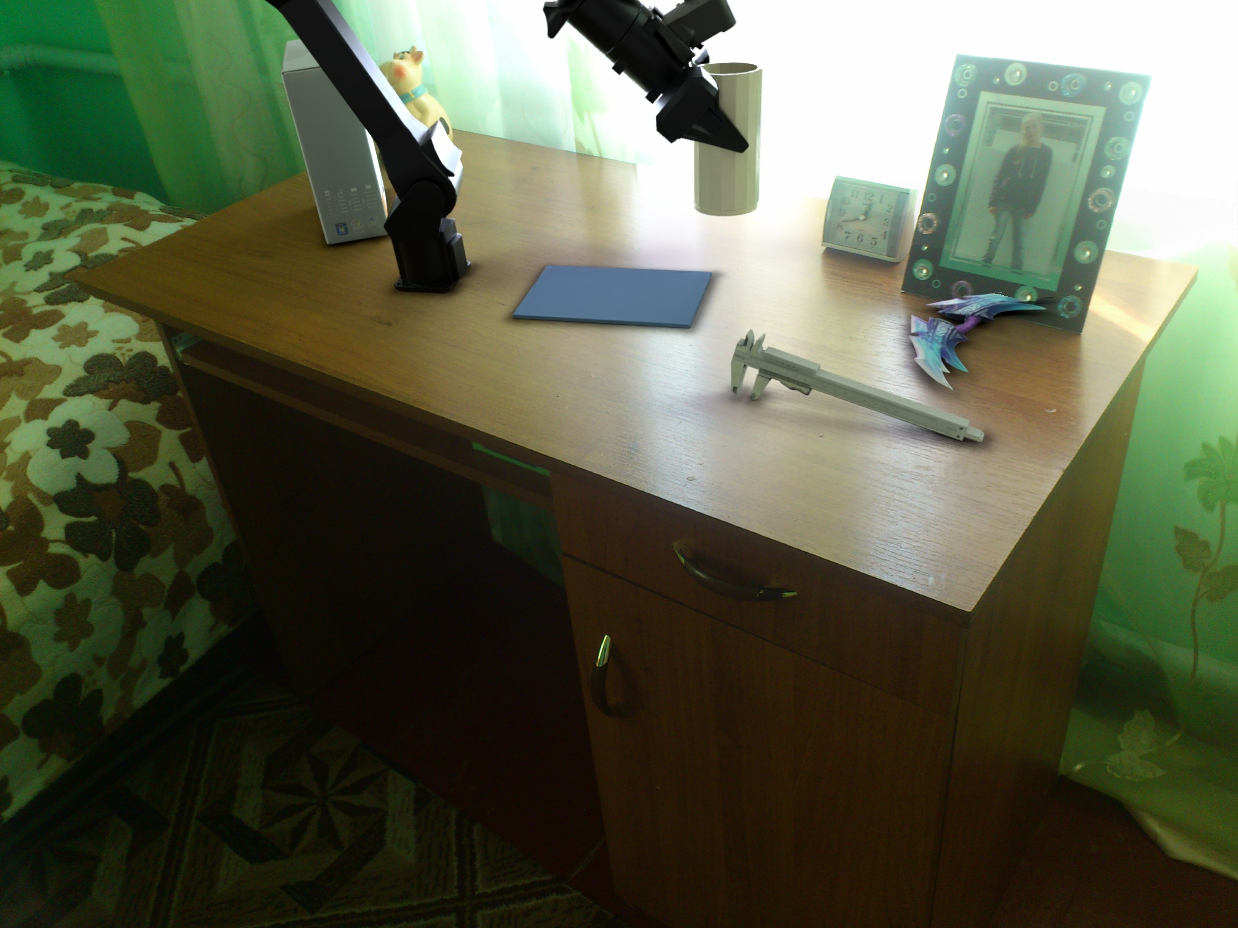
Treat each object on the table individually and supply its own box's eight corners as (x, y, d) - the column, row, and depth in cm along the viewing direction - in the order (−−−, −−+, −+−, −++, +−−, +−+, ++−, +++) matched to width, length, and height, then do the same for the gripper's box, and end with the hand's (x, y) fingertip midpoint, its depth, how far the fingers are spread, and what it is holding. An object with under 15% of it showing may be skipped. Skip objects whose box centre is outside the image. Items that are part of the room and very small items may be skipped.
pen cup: (710, 220, 97) (710, 77, 90) (684, 202, 103) (682, 66, 96) (769, 210, 99) (774, 69, 92) (740, 193, 105) (743, 58, 97)
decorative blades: (981, 266, 95) (1079, 297, 89) (980, 274, 96) (1077, 305, 89) (854, 344, 86) (953, 385, 79) (853, 352, 86) (952, 393, 80)
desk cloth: (512, 318, 97) (512, 314, 97) (548, 268, 106) (547, 265, 105) (689, 328, 93) (689, 324, 92) (712, 275, 101) (712, 271, 101)
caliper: (731, 396, 83) (729, 332, 79) (735, 389, 84) (734, 325, 80) (981, 445, 74) (992, 376, 71) (984, 437, 75) (995, 368, 71)
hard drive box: (392, 236, 116) (350, 62, 104) (327, 248, 115) (277, 73, 103) (386, 190, 128) (347, 29, 116) (327, 200, 127) (282, 39, 115)
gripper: (688, -22, 80) (818, 103, 86) (675, -62, 95) (786, 47, 101) (601, 85, 85) (730, 196, 91) (601, 31, 100) (712, 130, 106)
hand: (741, 137), depth 97 cm, fingers closed on pen cup, 7 cm apart
